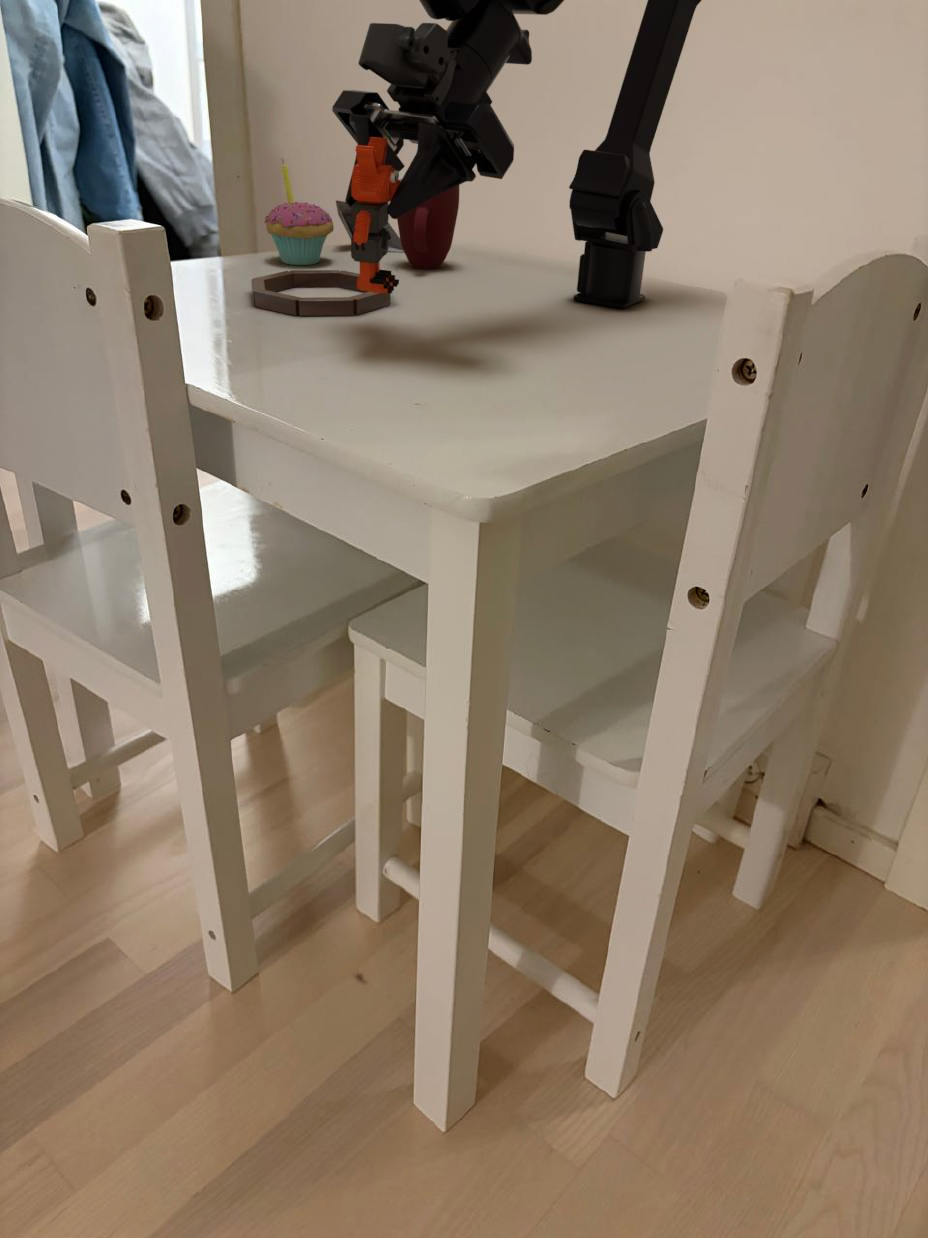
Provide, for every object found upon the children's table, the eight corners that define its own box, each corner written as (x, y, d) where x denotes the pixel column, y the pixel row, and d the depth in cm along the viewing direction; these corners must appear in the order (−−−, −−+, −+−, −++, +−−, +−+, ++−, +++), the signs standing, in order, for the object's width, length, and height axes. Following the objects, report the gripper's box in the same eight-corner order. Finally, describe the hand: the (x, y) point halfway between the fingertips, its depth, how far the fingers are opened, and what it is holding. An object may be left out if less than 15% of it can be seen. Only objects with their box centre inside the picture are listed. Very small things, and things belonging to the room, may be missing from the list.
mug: (458, 277, 118) (461, 190, 113) (393, 275, 118) (393, 187, 112) (456, 260, 127) (458, 178, 122) (395, 258, 127) (395, 176, 121)
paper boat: (404, 233, 136) (429, 225, 128) (385, 274, 137) (408, 269, 128) (332, 185, 131) (353, 173, 122) (312, 228, 131) (331, 219, 123)
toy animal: (405, 302, 84) (408, 153, 77) (345, 296, 84) (343, 147, 77) (422, 278, 90) (427, 138, 83) (366, 272, 91) (366, 133, 84)
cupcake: (254, 263, 121) (247, 158, 114) (289, 252, 127) (284, 153, 121) (314, 271, 118) (310, 164, 112) (346, 259, 125) (344, 158, 119)
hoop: (413, 298, 108) (413, 283, 107) (329, 323, 97) (329, 307, 96) (313, 278, 115) (312, 264, 114) (224, 300, 104) (222, 284, 103)
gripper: (345, -16, 83) (248, 130, 82) (497, -17, 72) (386, 152, 71) (413, 86, 92) (326, 219, 91) (557, 99, 81) (460, 251, 80)
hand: (369, 210), depth 83 cm, fingers closed on toy animal, 5 cm apart
